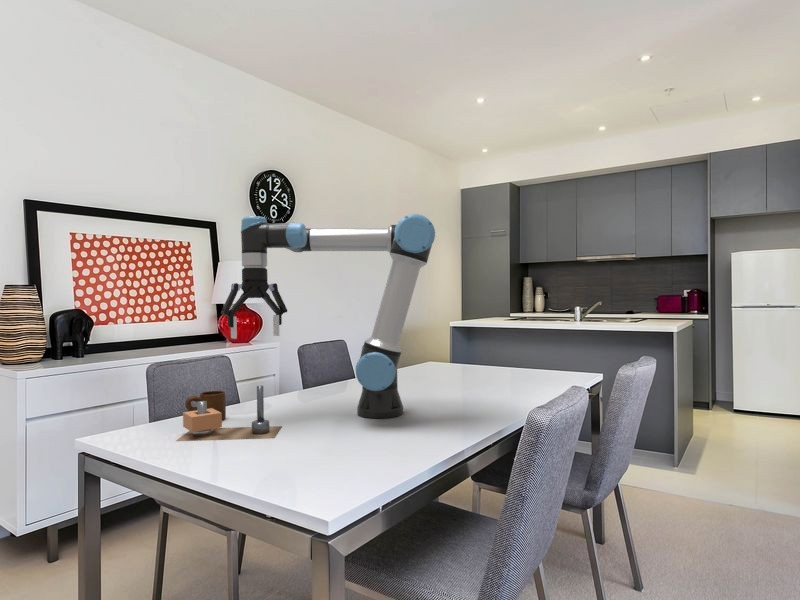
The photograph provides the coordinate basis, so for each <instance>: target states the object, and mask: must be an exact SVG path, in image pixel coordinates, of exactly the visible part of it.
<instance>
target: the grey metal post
mask: <svg viewBox="0 0 800 600" xmlns="http://www.w3.org/2000/svg"><path fill="white" fill-rule="evenodd" d="M196 403H197V404H196V405H197V406H196V407H197V411H198V415H199V414H206V413H207V401H199V402H196ZM212 434H213V429H209V430H203V431H197V432H192V436H194V437H203V436H209V435H212Z"/></svg>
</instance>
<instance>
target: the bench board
mask: <svg viewBox="0 0 800 600" xmlns="http://www.w3.org/2000/svg"><path fill="white" fill-rule="evenodd" d="M269 426H270V432H269V433H267V434H262V435H255V434H252V426H243V427H242V426H241V427H240V426H237V427H236V426H235V427H220V428H214V429H213V434H212V435H209V436H203V437H194V436H192V432H191V431H189V430H188V431H187V432H185V433H184V434H183V435H182V436H180V437H179V438H177V439H176V440H175V442H194V441H197V442H198V441H227V440H228V441H229V440H231V441H232V440H234V441H235V440H259V439H260V440H261V439H262V440H263V439H264V440H267V439H269V440H270V439H275V438H276V437H277V435H278V434H279V433H280V431H281V430H282V428H283V425H279V426H277V425H276V426H274V425H273V426H271V425H269Z"/></svg>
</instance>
